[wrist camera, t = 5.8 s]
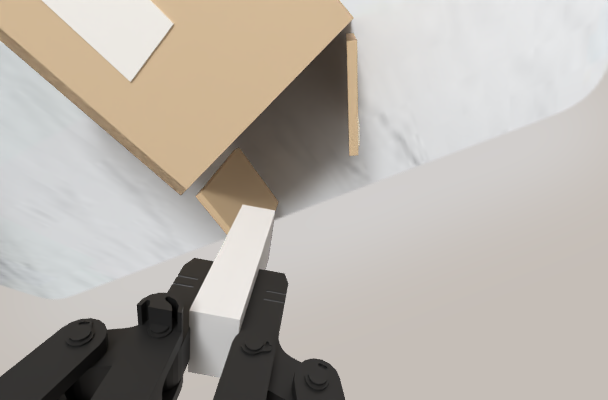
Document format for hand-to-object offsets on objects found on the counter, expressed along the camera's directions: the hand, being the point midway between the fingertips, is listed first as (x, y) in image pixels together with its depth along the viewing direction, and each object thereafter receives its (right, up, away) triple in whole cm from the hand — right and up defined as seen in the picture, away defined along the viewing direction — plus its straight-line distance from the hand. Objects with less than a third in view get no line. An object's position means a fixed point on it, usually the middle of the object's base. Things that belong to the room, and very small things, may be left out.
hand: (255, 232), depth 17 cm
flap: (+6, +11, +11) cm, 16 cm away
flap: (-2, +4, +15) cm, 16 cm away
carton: (-5, +16, +10) cm, 19 cm away
